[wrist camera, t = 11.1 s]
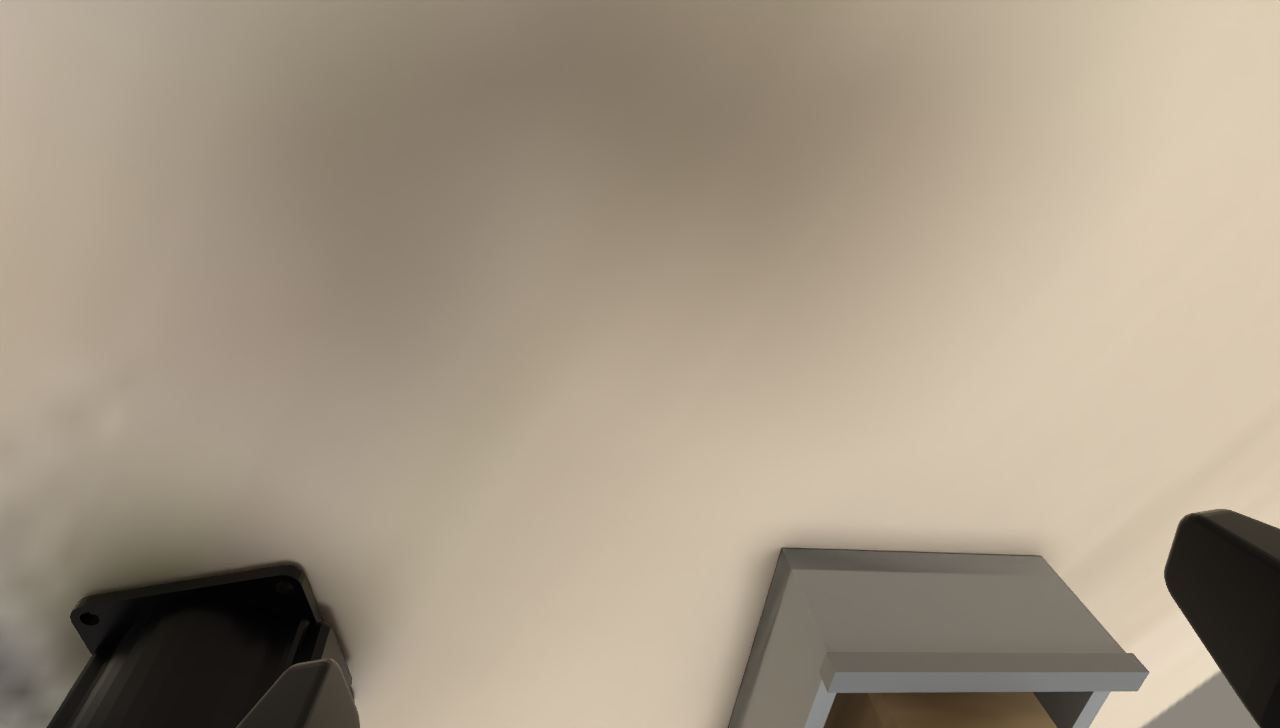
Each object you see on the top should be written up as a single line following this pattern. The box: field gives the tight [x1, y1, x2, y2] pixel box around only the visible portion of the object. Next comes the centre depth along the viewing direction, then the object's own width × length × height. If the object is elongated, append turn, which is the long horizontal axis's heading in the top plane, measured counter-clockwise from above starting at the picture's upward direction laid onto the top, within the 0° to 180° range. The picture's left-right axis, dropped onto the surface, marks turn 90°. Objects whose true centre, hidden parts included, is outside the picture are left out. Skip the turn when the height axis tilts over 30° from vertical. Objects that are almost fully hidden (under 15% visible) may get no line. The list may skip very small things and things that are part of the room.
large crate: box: [728, 548, 1149, 728], centre depth 26 cm, size 10×10×5 cm
